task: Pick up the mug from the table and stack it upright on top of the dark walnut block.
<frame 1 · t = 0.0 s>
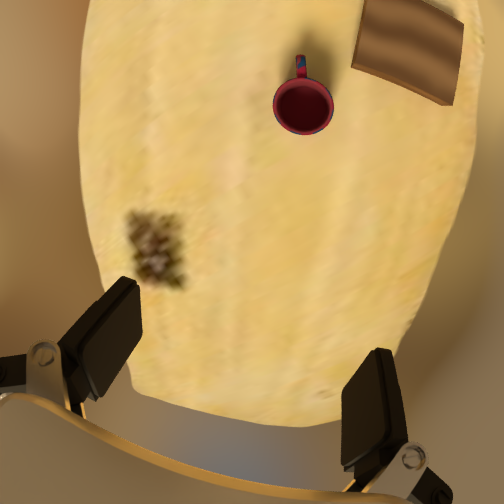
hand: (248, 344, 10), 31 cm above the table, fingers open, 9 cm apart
walnut block: (406, 44, 26), on the table
mug: (304, 96, 32), on the table
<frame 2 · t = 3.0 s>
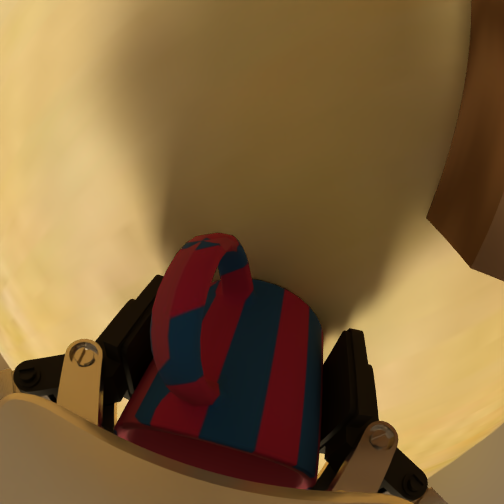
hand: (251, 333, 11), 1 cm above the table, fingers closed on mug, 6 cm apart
mug: (253, 307, 12), on the table, touching gripper
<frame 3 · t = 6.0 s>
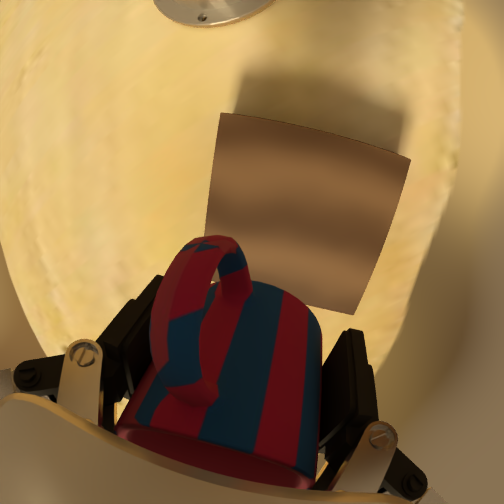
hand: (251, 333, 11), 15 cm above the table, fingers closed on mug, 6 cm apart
walnut block: (299, 207, 24), on the table
mug: (252, 308, 12), point 14 cm above the table, touching gripper
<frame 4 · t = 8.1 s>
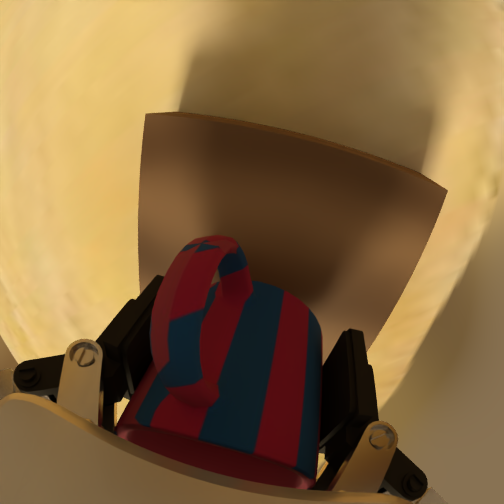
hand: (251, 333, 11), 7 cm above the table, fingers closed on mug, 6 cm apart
walnut block: (274, 246, 17), on the table
mug: (252, 308, 12), point 6 cm above the table, touching gripper
when the fingers open (6 cm above the table, at t = 9.3 s): mug drops 1 cm, resting on walnut block.
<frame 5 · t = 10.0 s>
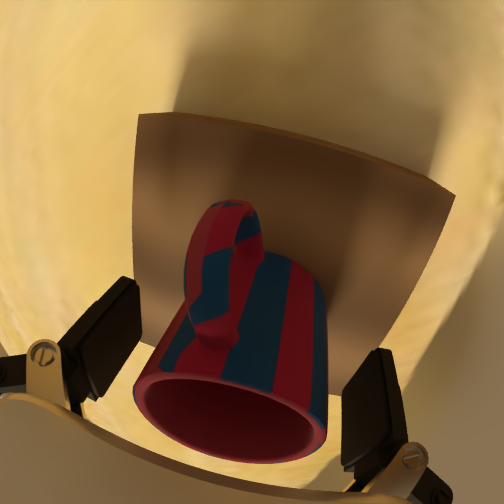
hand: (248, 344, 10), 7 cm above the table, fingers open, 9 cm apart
walnut block: (273, 251, 17), on the table, touching mug
mug: (262, 280, 13), point 3 cm above the table, touching walnut block
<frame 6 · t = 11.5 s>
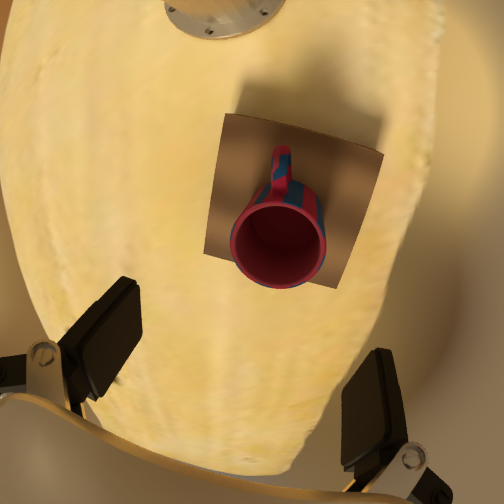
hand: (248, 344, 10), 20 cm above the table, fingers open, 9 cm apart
walnut block: (289, 194, 28), on the table, touching mug
mug: (288, 197, 25), point 3 cm above the table, touching walnut block
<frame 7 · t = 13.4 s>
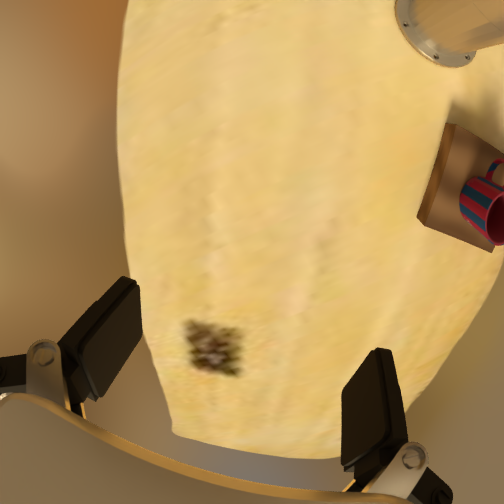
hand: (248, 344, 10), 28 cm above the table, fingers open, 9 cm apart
walnut block: (466, 186, 30), on the table, touching mug
mug: (480, 188, 27), point 3 cm above the table, touching walnut block
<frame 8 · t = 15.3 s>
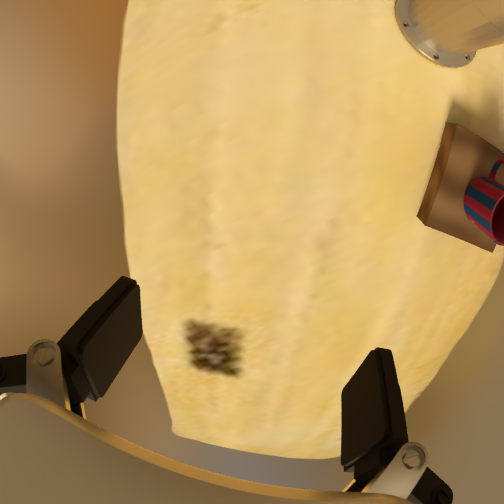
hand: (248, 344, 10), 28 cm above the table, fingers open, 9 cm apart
walnut block: (467, 186, 30), on the table
mug: (484, 189, 26), point 3 cm above the table
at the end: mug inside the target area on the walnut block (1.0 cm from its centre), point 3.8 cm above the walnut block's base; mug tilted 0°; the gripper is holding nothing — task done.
